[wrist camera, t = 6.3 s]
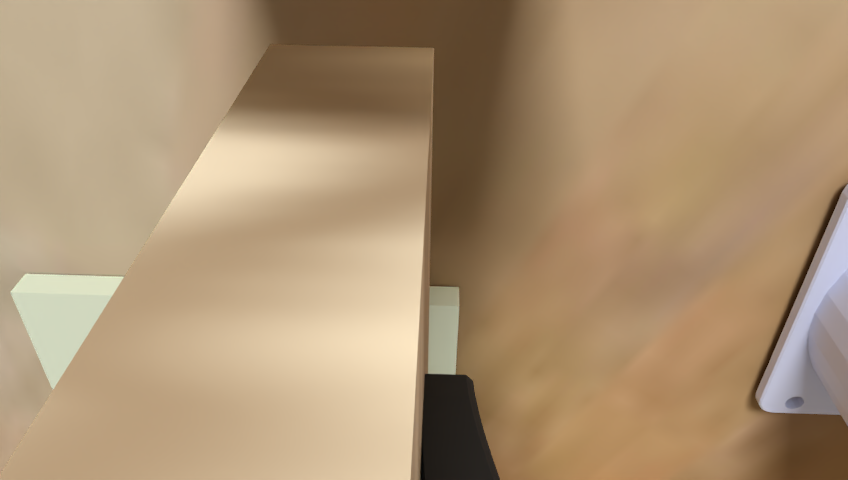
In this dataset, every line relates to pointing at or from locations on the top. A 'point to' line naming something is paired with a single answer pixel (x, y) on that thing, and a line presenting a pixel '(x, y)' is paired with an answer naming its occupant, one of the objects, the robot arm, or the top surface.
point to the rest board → (88, 295)
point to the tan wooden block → (270, 294)
